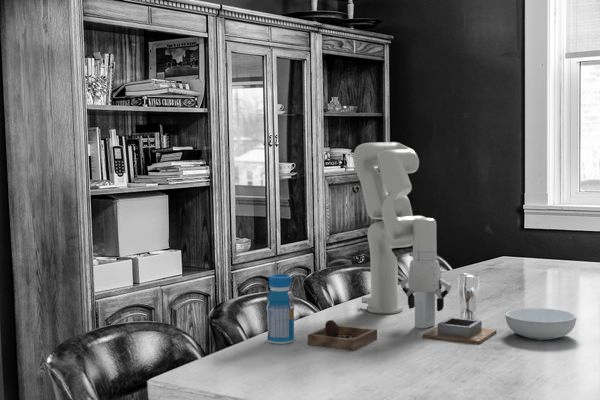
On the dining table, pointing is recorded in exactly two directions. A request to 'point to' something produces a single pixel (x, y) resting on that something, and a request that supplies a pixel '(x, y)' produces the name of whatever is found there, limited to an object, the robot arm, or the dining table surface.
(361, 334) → the square wooden tray
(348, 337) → the compass
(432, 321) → the skincare box
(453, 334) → the board with square socket
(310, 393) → the dining table surface
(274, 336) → the beverage bottle
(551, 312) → the serving bowl
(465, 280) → the beer glass
